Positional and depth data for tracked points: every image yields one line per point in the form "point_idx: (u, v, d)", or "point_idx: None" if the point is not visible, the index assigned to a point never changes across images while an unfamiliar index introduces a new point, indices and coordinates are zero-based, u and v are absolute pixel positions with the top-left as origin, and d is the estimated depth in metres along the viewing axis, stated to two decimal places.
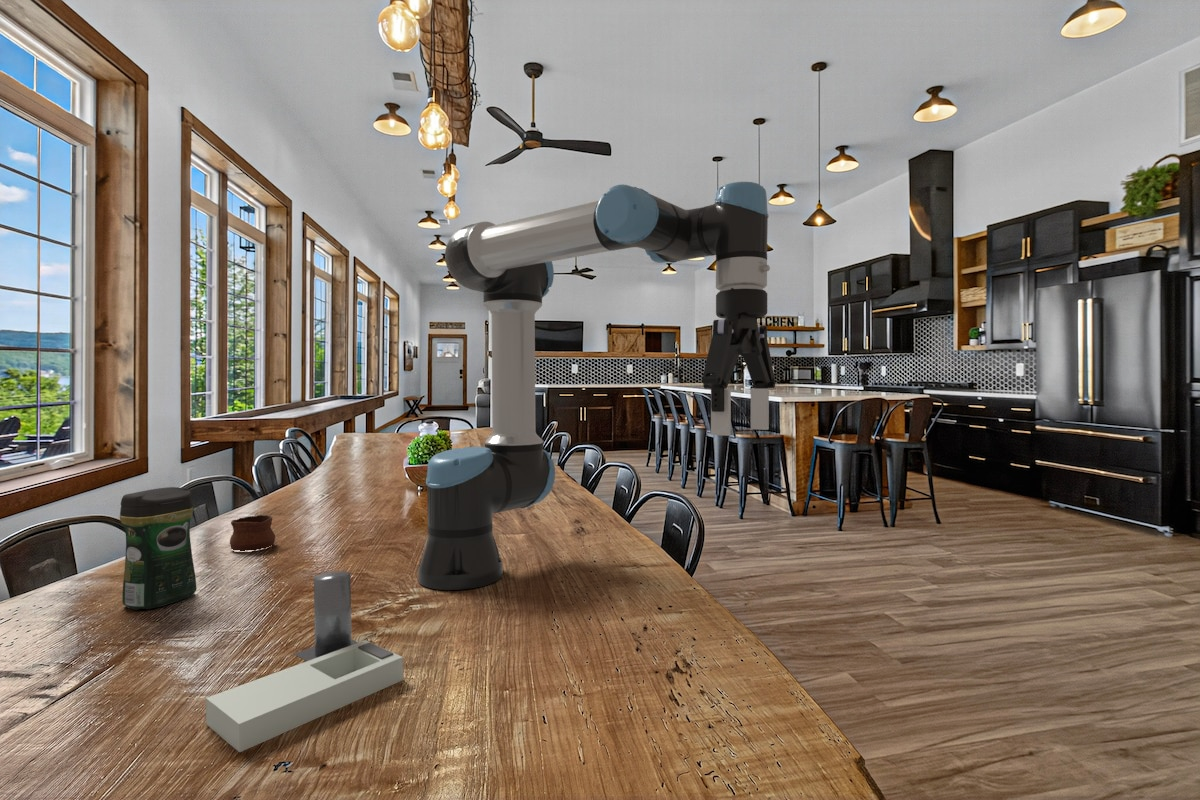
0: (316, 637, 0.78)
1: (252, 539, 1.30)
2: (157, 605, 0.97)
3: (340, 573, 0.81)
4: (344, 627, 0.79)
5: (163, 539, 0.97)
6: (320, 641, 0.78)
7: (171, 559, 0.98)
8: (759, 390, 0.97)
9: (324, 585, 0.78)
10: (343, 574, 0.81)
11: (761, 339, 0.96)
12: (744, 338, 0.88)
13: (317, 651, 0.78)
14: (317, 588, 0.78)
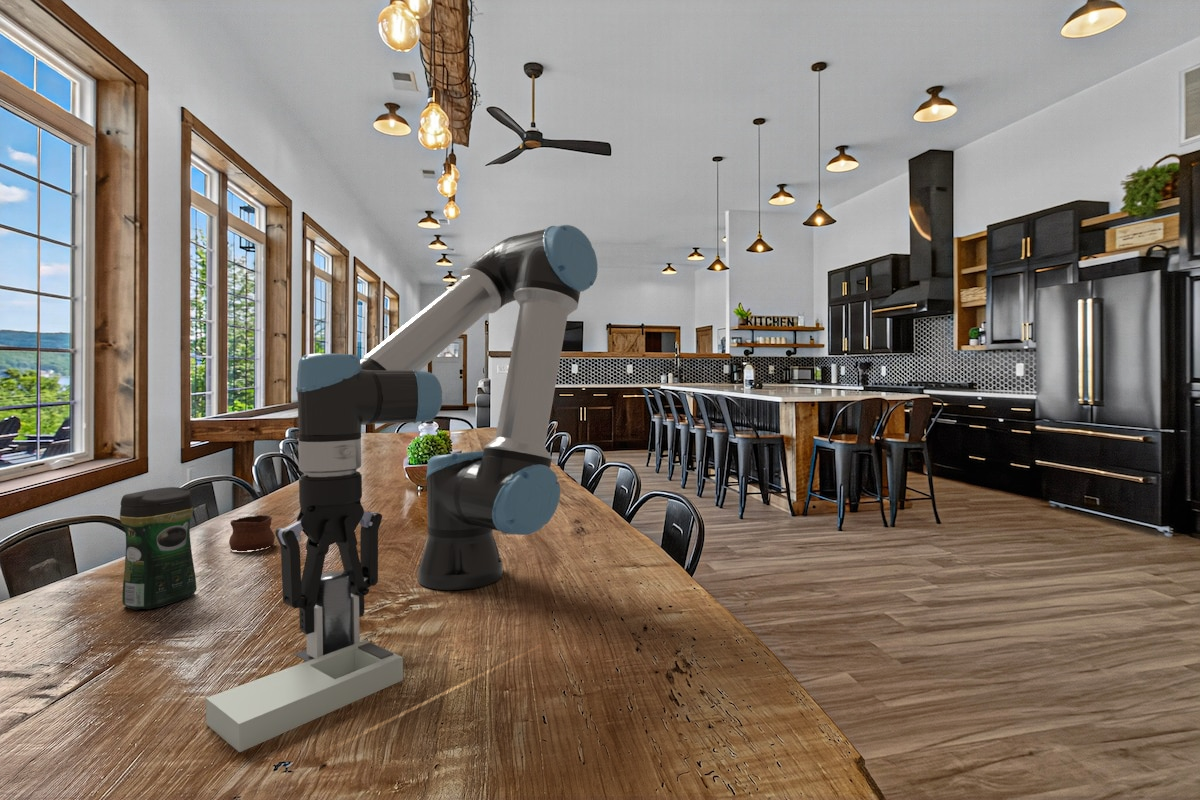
0: None
1: (251, 539, 1.30)
2: (157, 605, 0.97)
3: (340, 573, 0.81)
4: (344, 627, 0.79)
5: (163, 539, 0.97)
6: None
7: (171, 559, 0.98)
8: None
9: (324, 585, 0.78)
10: (343, 574, 0.81)
11: (369, 527, 0.83)
12: (323, 537, 0.77)
13: None
14: None
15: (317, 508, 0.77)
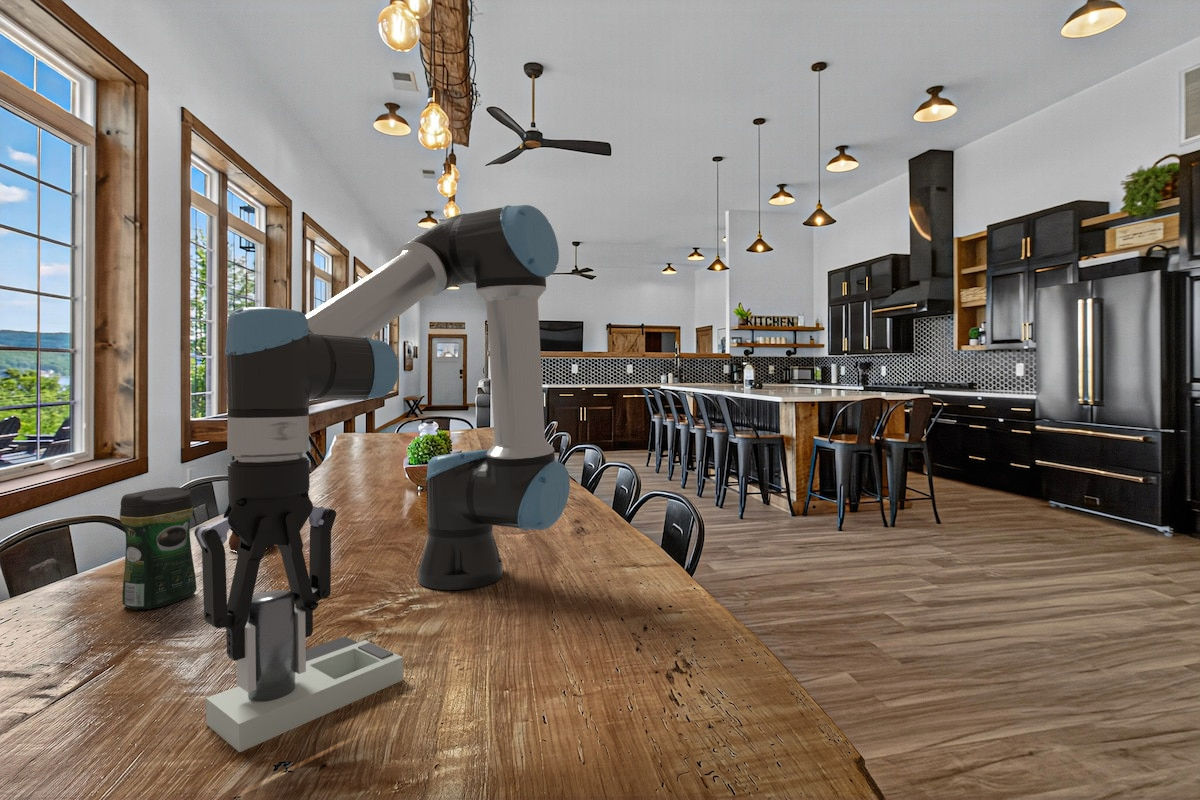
0: None
1: None
2: (157, 605, 0.97)
3: (281, 594, 0.65)
4: (284, 661, 0.63)
5: (163, 539, 0.97)
6: None
7: (171, 559, 0.98)
8: None
9: (259, 609, 0.62)
10: (285, 594, 0.65)
11: (319, 527, 0.67)
12: (257, 538, 0.61)
13: (250, 692, 0.63)
14: (250, 612, 0.62)
15: (250, 502, 0.61)
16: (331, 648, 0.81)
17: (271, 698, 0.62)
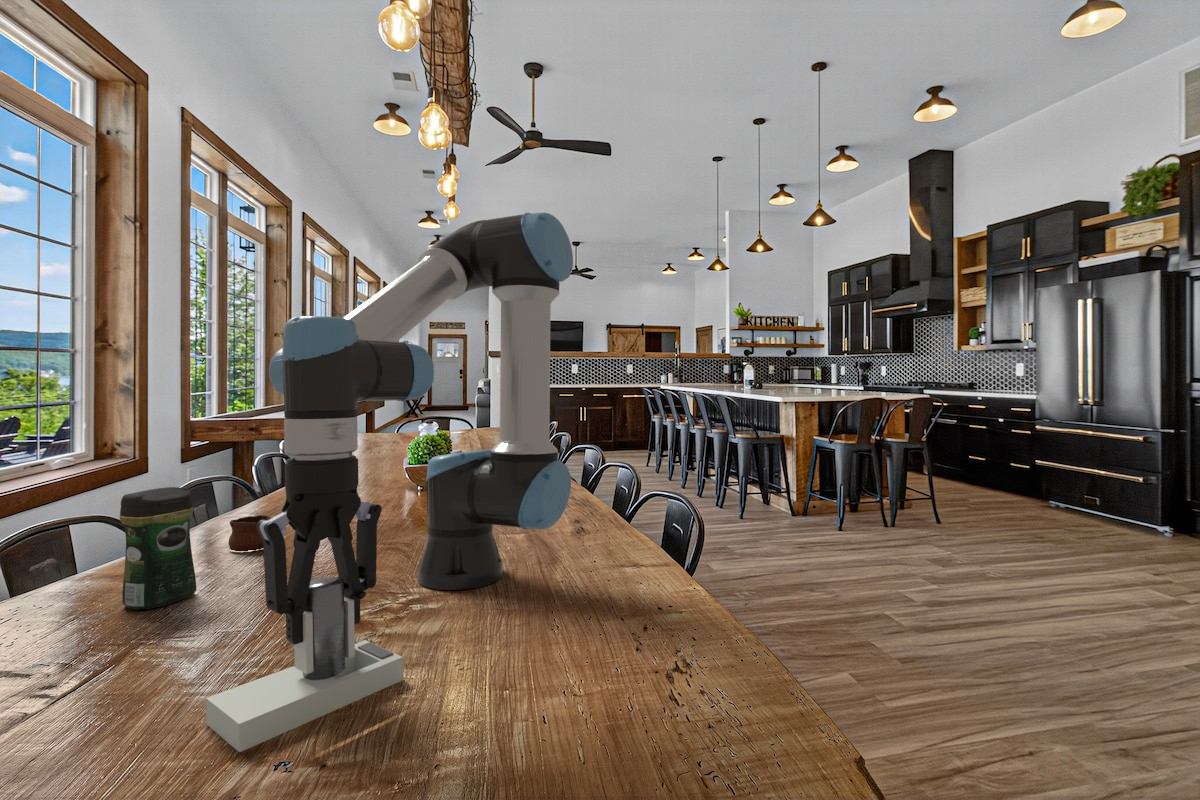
0: None
1: (249, 539, 1.29)
2: (157, 605, 0.97)
3: (331, 580, 0.70)
4: (336, 643, 0.68)
5: (163, 539, 0.97)
6: None
7: (171, 559, 0.98)
8: None
9: (313, 594, 0.66)
10: (335, 581, 0.69)
11: (366, 520, 0.72)
12: (313, 531, 0.66)
13: None
14: None
15: (306, 497, 0.66)
16: None
17: (325, 677, 0.67)
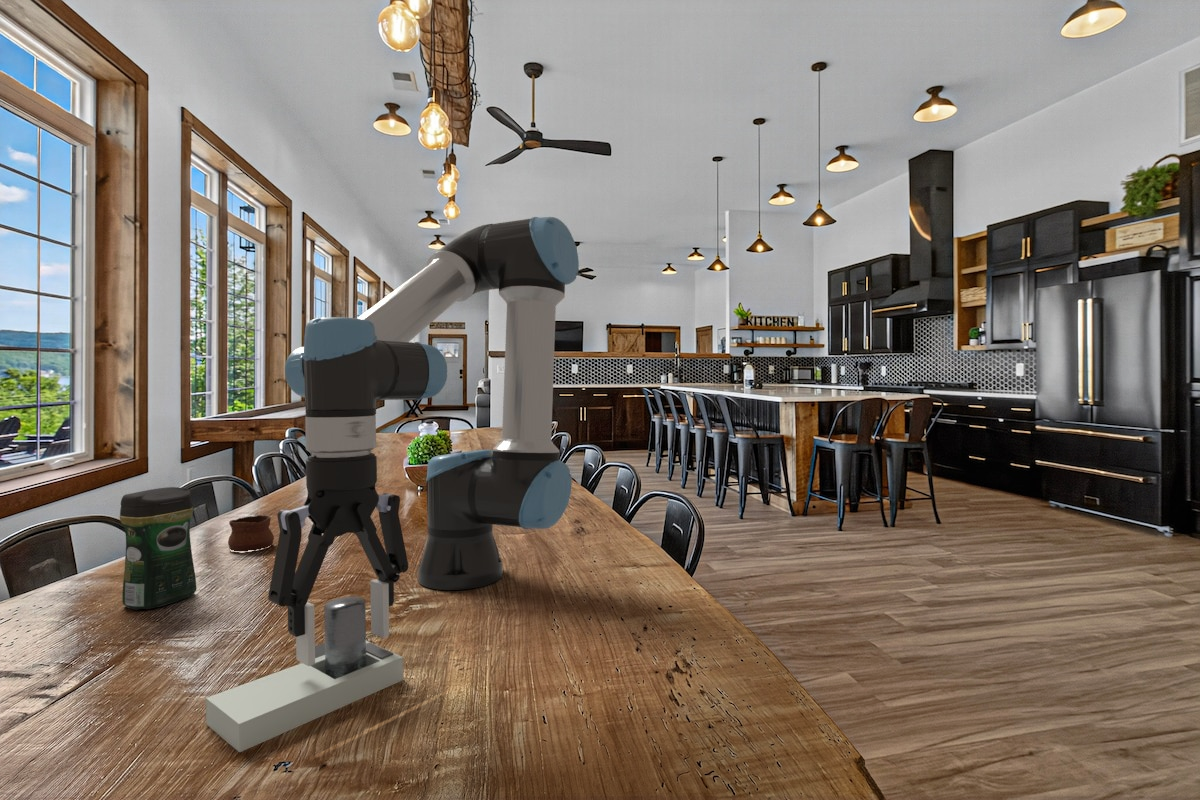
0: (327, 673, 0.69)
1: (249, 539, 1.29)
2: (157, 605, 0.97)
3: (353, 600, 0.72)
4: (357, 662, 0.70)
5: (163, 539, 0.97)
6: None
7: (171, 559, 0.98)
8: (377, 585, 0.74)
9: (336, 615, 0.69)
10: (357, 601, 0.71)
11: (387, 512, 0.74)
12: (331, 525, 0.68)
13: None
14: (328, 617, 0.69)
15: (329, 494, 0.68)
16: None
17: None
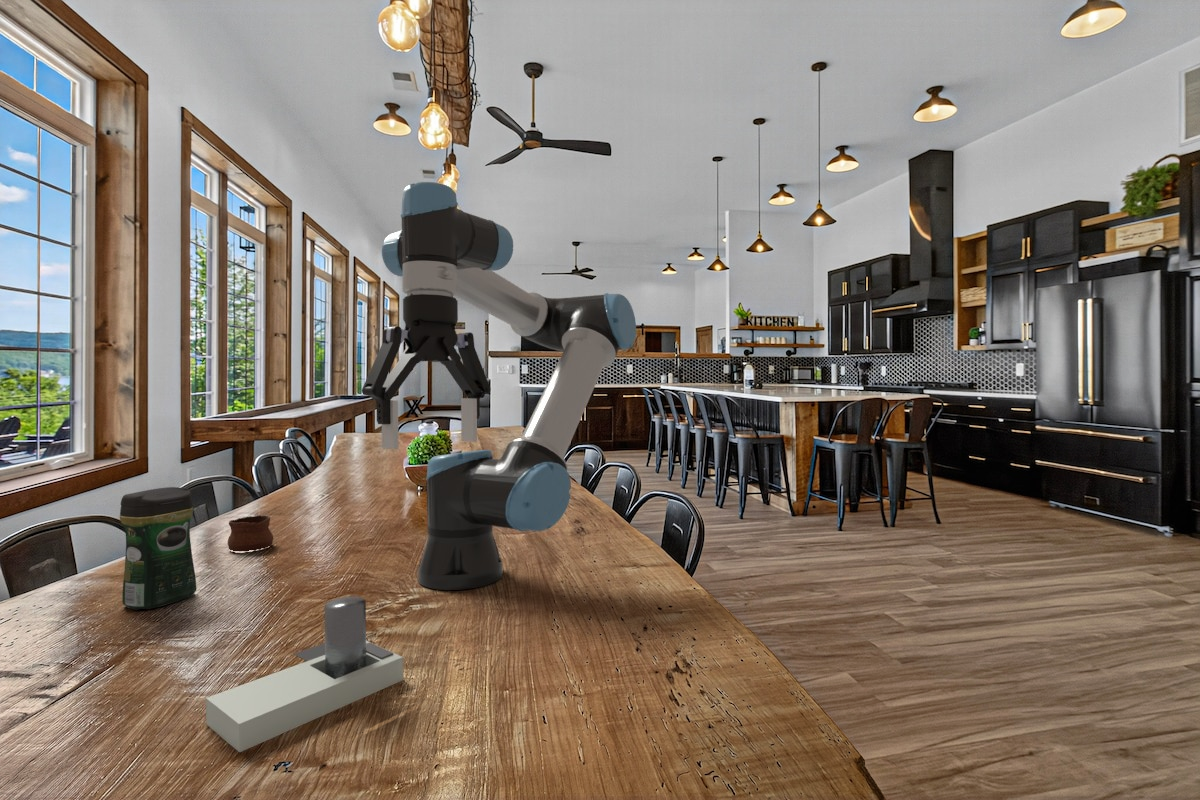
0: (327, 673, 0.69)
1: (249, 539, 1.29)
2: (157, 605, 0.97)
3: (354, 600, 0.72)
4: (358, 662, 0.70)
5: (163, 539, 0.97)
6: None
7: (171, 559, 0.98)
8: (467, 400, 0.92)
9: (336, 614, 0.69)
10: (357, 601, 0.71)
11: (466, 347, 0.91)
12: (422, 346, 0.84)
13: None
14: (328, 617, 0.69)
15: (425, 327, 0.85)
16: None
17: None
